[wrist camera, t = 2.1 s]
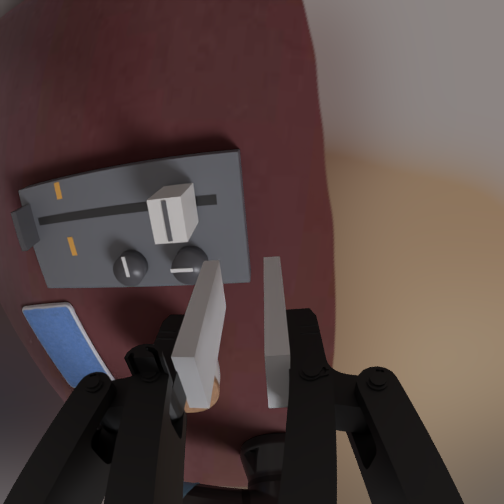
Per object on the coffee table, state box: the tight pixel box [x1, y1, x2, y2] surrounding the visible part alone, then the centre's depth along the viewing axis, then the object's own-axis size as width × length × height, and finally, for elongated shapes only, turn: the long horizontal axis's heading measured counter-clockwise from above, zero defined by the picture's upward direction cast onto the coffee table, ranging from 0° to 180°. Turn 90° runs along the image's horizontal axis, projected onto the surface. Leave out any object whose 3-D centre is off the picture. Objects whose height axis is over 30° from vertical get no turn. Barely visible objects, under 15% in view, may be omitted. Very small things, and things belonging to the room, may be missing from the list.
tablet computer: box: [22, 302, 115, 388], centre depth 44 cm, size 19×13×1 cm, turn 11°
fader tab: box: [147, 183, 199, 244], centre depth 27 cm, size 4×3×5 cm
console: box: [11, 149, 251, 288], centre depth 31 cm, size 14×28×5 cm, turn 95°
